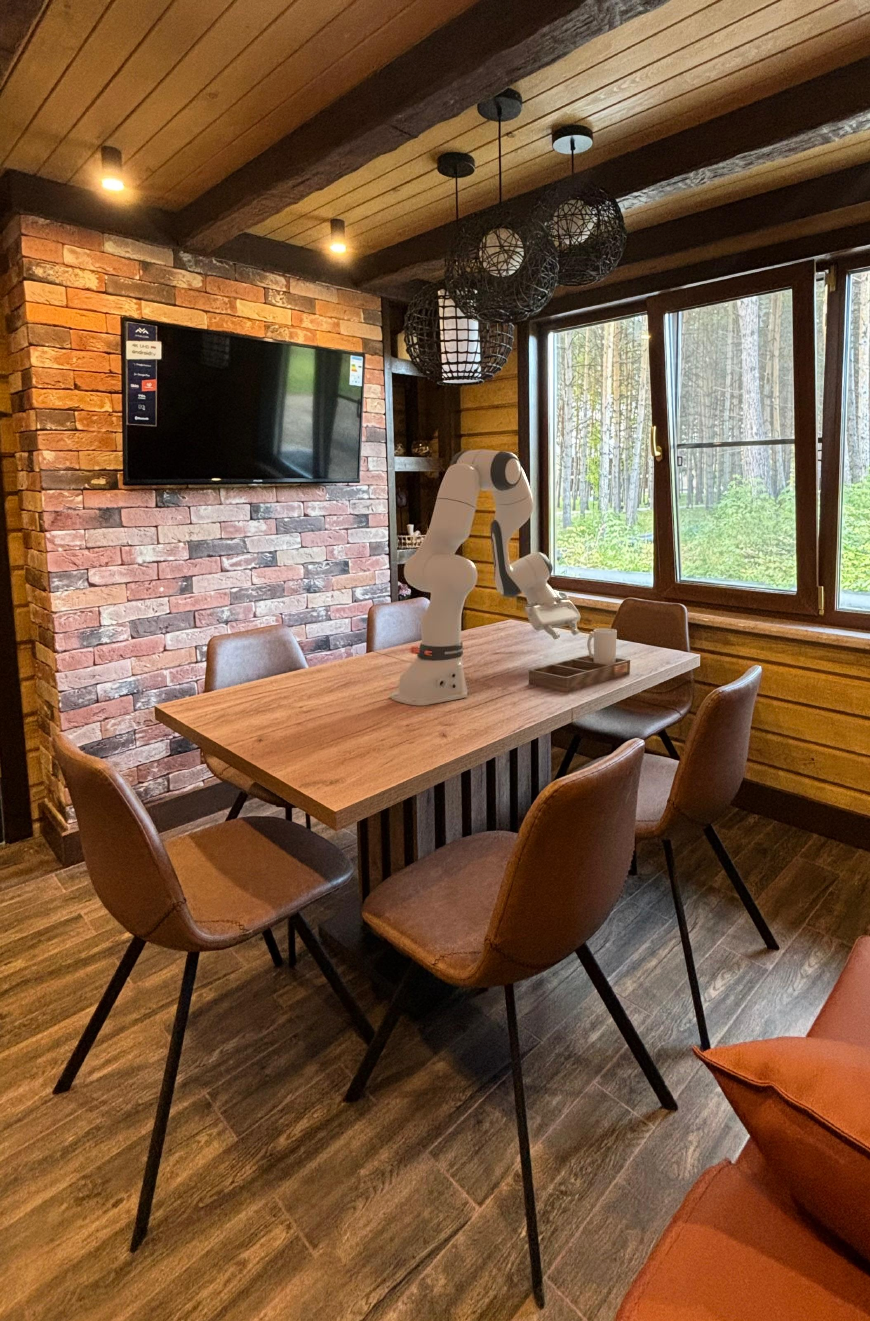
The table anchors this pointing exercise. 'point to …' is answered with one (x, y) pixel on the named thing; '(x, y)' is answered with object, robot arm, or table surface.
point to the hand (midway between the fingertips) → (567, 636)
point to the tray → (577, 673)
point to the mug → (603, 646)
